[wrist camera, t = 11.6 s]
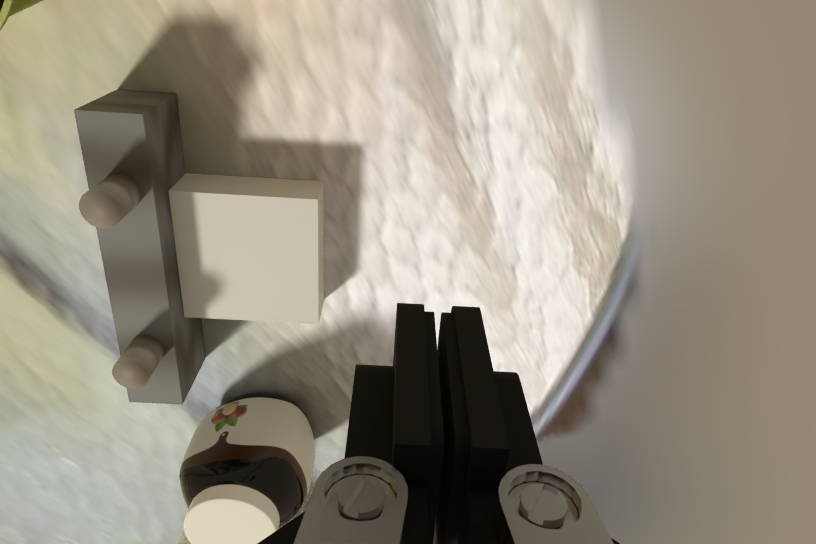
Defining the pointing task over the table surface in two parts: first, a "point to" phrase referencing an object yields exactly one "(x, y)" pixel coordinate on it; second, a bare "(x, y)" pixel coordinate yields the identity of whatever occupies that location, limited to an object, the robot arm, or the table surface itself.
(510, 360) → the table surface
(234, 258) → the beige flat square block
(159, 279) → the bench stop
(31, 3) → the plant pot
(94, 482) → the table surface
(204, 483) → the spread jar
